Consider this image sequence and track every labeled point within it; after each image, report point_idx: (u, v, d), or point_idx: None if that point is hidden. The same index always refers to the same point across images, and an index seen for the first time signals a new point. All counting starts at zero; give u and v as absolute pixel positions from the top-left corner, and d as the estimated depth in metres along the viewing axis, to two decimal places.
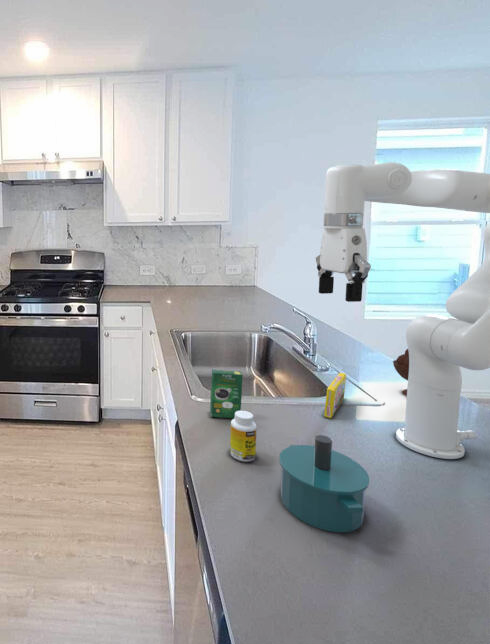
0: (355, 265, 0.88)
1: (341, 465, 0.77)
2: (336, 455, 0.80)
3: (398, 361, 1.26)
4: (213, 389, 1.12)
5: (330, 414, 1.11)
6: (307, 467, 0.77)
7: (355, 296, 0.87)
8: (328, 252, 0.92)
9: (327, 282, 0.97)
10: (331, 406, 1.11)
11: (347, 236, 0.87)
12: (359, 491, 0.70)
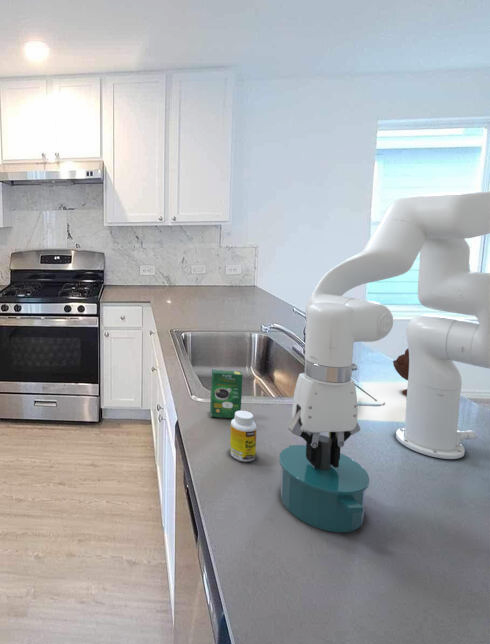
0: None
1: (341, 465, 0.77)
2: None
3: (398, 361, 1.26)
4: (213, 389, 1.12)
5: None
6: (307, 467, 0.77)
7: None
8: (329, 412, 0.73)
9: None
10: None
11: (355, 388, 0.74)
12: (359, 491, 0.70)
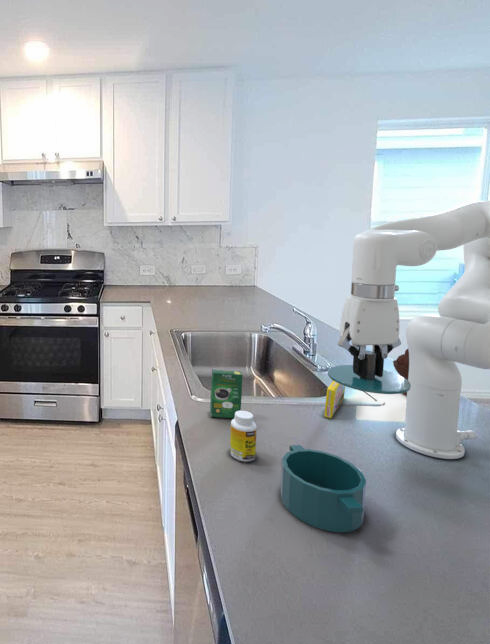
0: None
1: (384, 376, 0.88)
2: None
3: (398, 361, 1.26)
4: (213, 389, 1.12)
5: (330, 414, 1.11)
6: (354, 378, 0.88)
7: None
8: (375, 326, 0.84)
9: None
10: (331, 406, 1.11)
11: None
12: (403, 391, 0.81)
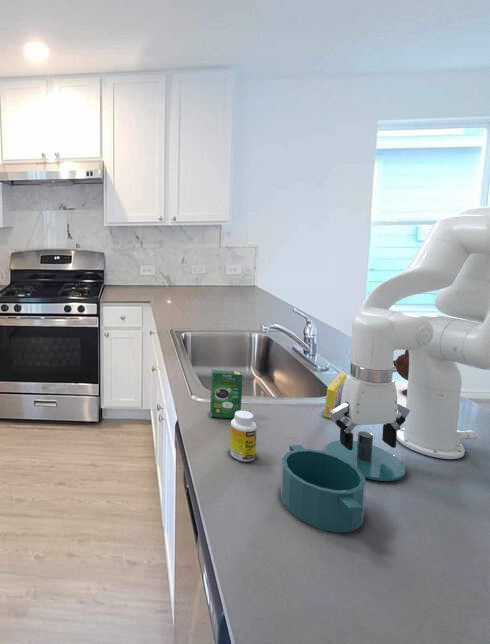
0: None
1: (380, 456, 0.91)
2: (374, 448, 0.94)
3: (398, 361, 1.26)
4: (213, 389, 1.12)
5: None
6: (351, 458, 0.91)
7: None
8: (374, 407, 0.87)
9: None
10: (331, 406, 1.11)
11: (395, 387, 0.88)
12: (398, 478, 0.84)
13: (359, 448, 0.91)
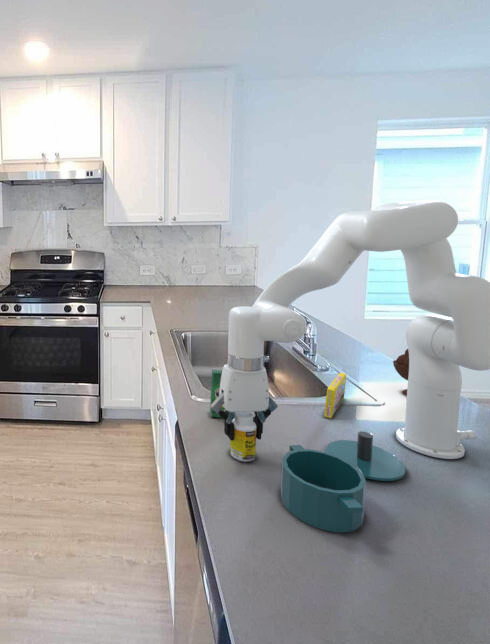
0: None
1: (380, 456, 0.91)
2: (374, 448, 0.94)
3: (398, 361, 1.26)
4: (213, 389, 1.12)
5: (330, 414, 1.11)
6: (351, 458, 0.91)
7: None
8: (245, 395, 0.90)
9: None
10: (331, 406, 1.11)
11: None
12: (398, 478, 0.84)
13: (359, 448, 0.91)
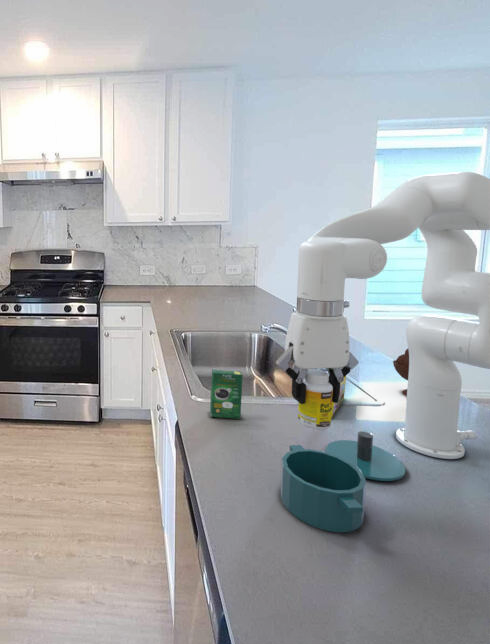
0: None
1: (380, 456, 0.91)
2: (374, 448, 0.94)
3: (398, 361, 1.26)
4: (213, 389, 1.12)
5: None
6: (351, 458, 0.91)
7: None
8: (321, 347, 0.74)
9: None
10: None
11: (347, 324, 0.74)
12: (398, 478, 0.84)
13: (359, 448, 0.91)
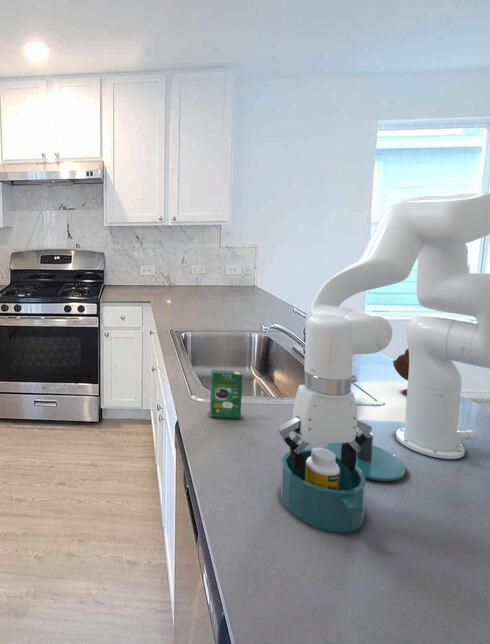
0: None
1: (380, 456, 0.91)
2: (374, 448, 0.94)
3: (398, 361, 1.26)
4: (213, 389, 1.12)
5: None
6: None
7: None
8: (328, 424, 0.74)
9: None
10: None
11: None
12: (398, 478, 0.84)
13: None
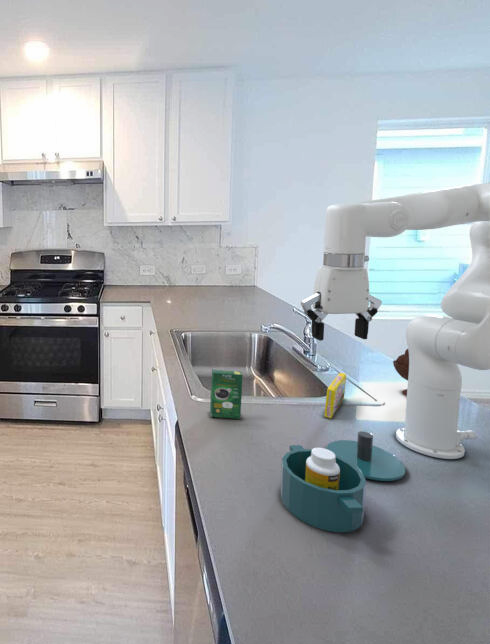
0: None
1: (380, 456, 0.91)
2: (374, 448, 0.94)
3: (398, 361, 1.26)
4: (213, 389, 1.12)
5: (330, 414, 1.11)
6: (351, 458, 0.91)
7: None
8: (345, 294, 0.86)
9: None
10: (331, 406, 1.11)
11: (367, 275, 0.87)
12: (398, 478, 0.84)
13: (359, 448, 0.91)
